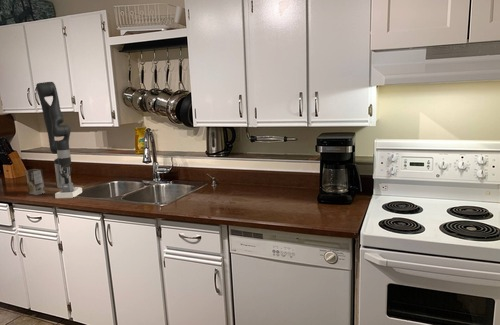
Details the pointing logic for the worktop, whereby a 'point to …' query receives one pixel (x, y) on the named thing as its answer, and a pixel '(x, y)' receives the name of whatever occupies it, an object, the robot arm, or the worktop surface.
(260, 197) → the worktop surface
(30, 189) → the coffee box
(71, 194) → the socket plate
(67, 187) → the plug
